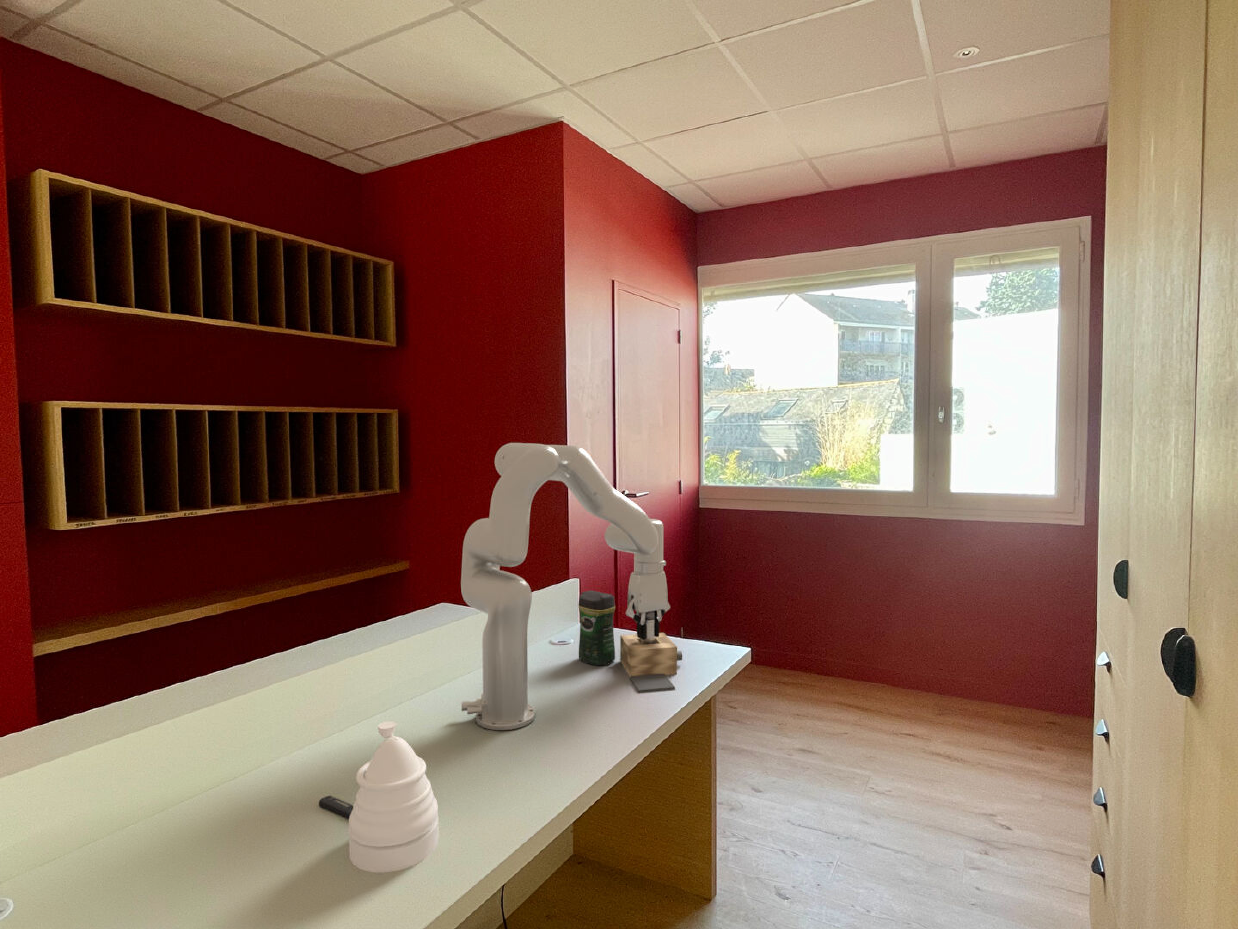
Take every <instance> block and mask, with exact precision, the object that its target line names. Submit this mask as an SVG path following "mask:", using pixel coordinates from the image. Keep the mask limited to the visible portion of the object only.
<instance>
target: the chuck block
mask: <svg viewBox="0 0 1238 929" xmlns="http://www.w3.org/2000/svg"><path fill="white" fill-rule="evenodd" d="M619 639H620V640H619V641H620V642H619V643H620V645H619V646H620V647H619V649H620V650H619V652H620V653H619V654H620V655H619V656H620V658H619V662H620V664H621V665H622V664H623V665H622V666H623V668H624V669H625V671H626V670H627V671H626V673H627V675H629V677H630V676H639V675H651V674H665V675H666V676H670V674H671V675H677V674H678V661H683V653H682V650H678V646H677V645H676V644H675V643H674V642H673V641H672V640H671V639H670V638H669V637H668V636H667V634H666V633H665V632H659V637H655V644H646V645H642V639H640V638H638V637H637V633H636V634H624V635H623V634H622V635H620V637H619Z"/></svg>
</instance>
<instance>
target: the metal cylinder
mask: <svg viewBox="0 0 1238 929" xmlns="http://www.w3.org/2000/svg"><path fill="white" fill-rule="evenodd" d="M644 624H646V640H643V639H642V645H646V644H655V611H651V612H646V614H645V622H644Z"/></svg>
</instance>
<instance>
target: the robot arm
mask: <svg viewBox="0 0 1238 929" xmlns="http://www.w3.org/2000/svg"><path fill="white" fill-rule="evenodd" d="M494 466H495V470H496V471H497V473H498V474H499V476H500V478H499V479H498V480H497V482H496V484H495V487H494V488H493V491H492V495H491V499H490V508H489V516H488V517H485V518H480V519H477V520H476V521H474V522H473V523H471V525H470V526H469V527H468V529H467V531H466V533H465V536H464V539H463V543H462V544H463V545H462V558H461V573H460V574H461V575H460V577H461V578H460V588H461V596H462V598H463V601H464V602H465V603H466V604H467V606H469V607H470V608H472V609H475V610H477V611H479V612H483V613H485V614H487V620H486V624H485V625H484V629H483V632H482V642H481V643H482V644H481V645H482V647H481V648H482V694H480V698H477V699H476V700H473V701H472V700H471V701H470V700H467V701H461V712H465V711H466V714H467V715H474V714H475V721H476V724H477V725H479V726H480V727H481V728H485V729H487V730H492V731H508V730H510V731H511V730H516V729H520V728H522V727H525V726H527V725H529V724H530V723H532V722H533V720H535V717H536V710H535V708H534V707H533V706H532V705H530V704H529V703H528V700H529V699H528V694H529V692H528V691H529V690H528V689H529V688H528V683H529V680H528V678H529V677H528V670H529V669H528V663H529V662H528V627H529V626H528V625H529V618H530V612H531V607H532V600H533V593H532V589H531V587H530V585H529V583H528V582H527V581H526V580H525V579H524V578H523V577H521V576H520V575H517V574H515V573H511V572H508V571H504V570H502V569H501V570H500V568H501V567H508V568H513V567H517V566H519V565H521V564H522V563H523V562H524V561H525V560H526V557H527V554H528V550H529V549H528V547H529V539H530V538H529V536H530V535H529V534H530V521H531V520H530V518H531V507H532V503H533V500H534V497H535V495H536V493H537V492H538V490H540V488H541V487H542V486H543V485H544V484H545V483H546V482H547V481H557V482H562V483H564V485H565V486H566V487H567V489H569V492H571V494H573V496H574V497H575V499H576V500H577V502H579V504H580V505H581V507H583V509H584V510H585V511H586V512H588V513H590V514H591V515H593V516H595V517H597V518H598V519H601V520H604V521H606V522H608V523H610V524H608V526H607V527H606V530H605V531H604V540H605V542H606V544H607V546H608V547H609V548H611V549H613V550H616V551H619V552H624V553H630V554H633V555H634V556H633V571H632V572H631V573H630V576H629V582H628V588H627V589H628V591H627V609H626V611H625V615H626V616H627V617H630V618H631V619H632V620H634V622H635V623H636V634H637V637H638V638H640V639H643V640H646V624H644V622H645V614H646V612H651V611H655V637H659V633H660V627H661V626H660V623H661V621H662V618H663V617H664V616H665V614H666V613H667V612H668V611H669V610H670V609H671V605H670V603H669V601H668V583H667V577H666V573H665V571H664V566H665V567H666V565H667V561H666V560H664V523H663V522H662V521H661V520H659V519H656V518H649V516H648V514H646V512H645V511H644V510H643V509H642V508H641V507H640V506H639V505H637V504H636V503H635V502H633V501H632V500H630V498H628V497H627V496H625V494H622V492H620V491H618V490H617V489H615V487H613V486H612V484H611V483H610V481H609V480H608V478H606V476H605V475H604V473H603V472H602V470H601V469H600V468H599V467H598V465H597V464H596V463H595V461H594V460H593V458H592V457H591V455H590V454H589V453H588V452H587V451H586V449H584V448H582V447H580V446H577V445H565V444H563V445H562V444H542V443H533V442H532V443H529V442H526V443H525V442H524V443H523V442H510V443H506V444H504V445H502V446H501V447H500V448H499V449H498V450H497V452H496V454H495V457H494ZM634 611H635V613H634Z"/></svg>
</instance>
